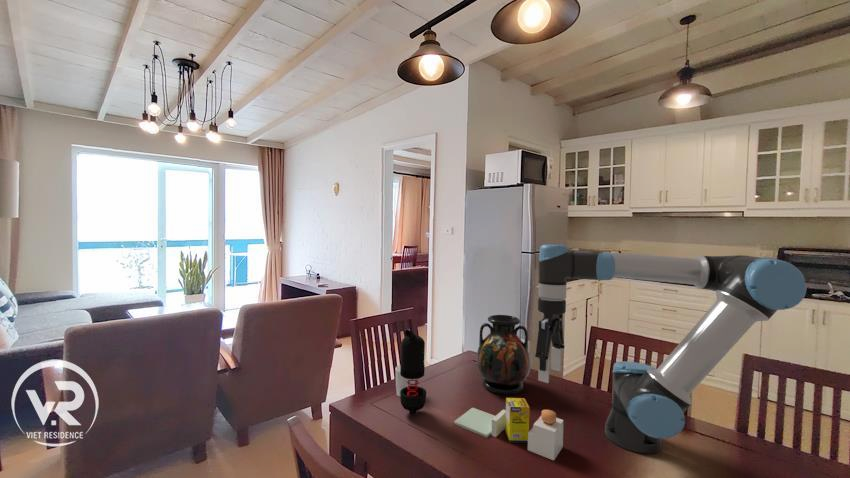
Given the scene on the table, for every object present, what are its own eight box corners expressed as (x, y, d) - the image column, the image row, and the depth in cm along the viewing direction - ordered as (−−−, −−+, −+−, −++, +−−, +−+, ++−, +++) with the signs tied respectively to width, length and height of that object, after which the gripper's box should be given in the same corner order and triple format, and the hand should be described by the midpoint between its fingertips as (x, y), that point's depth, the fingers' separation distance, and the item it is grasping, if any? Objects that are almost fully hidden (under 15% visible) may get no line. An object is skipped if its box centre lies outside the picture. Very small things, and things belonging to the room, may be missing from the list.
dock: (562, 446, 104) (563, 420, 104) (553, 460, 98) (554, 432, 98) (502, 424, 116) (503, 400, 115) (491, 435, 109) (492, 409, 109)
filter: (419, 424, 115) (420, 332, 114) (393, 418, 118) (395, 329, 118) (433, 405, 128) (434, 322, 127) (409, 400, 131) (411, 319, 130)
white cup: (419, 392, 137) (419, 367, 137) (407, 400, 131) (408, 374, 130) (403, 387, 141) (403, 362, 141) (390, 395, 135) (391, 369, 135)
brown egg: (557, 434, 103) (558, 412, 103) (553, 441, 100) (553, 418, 100) (543, 429, 105) (544, 408, 105) (538, 435, 102) (539, 413, 102)
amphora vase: (473, 395, 136) (474, 322, 135) (477, 373, 157) (478, 310, 156) (531, 402, 131) (533, 327, 130) (528, 378, 152) (529, 313, 151)
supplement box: (529, 443, 106) (530, 407, 105) (509, 443, 106) (509, 406, 105) (523, 432, 111) (524, 397, 111) (504, 431, 112) (505, 397, 111)
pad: (504, 421, 118) (504, 419, 118) (486, 437, 108) (486, 435, 108) (472, 409, 125) (472, 407, 125) (453, 424, 115) (453, 421, 115)
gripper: (551, 291, 113) (549, 361, 113) (523, 302, 95) (521, 384, 96) (576, 294, 108) (574, 367, 109) (552, 306, 90) (550, 392, 91)
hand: (549, 375), depth 102 cm, fingers open, 10 cm apart
